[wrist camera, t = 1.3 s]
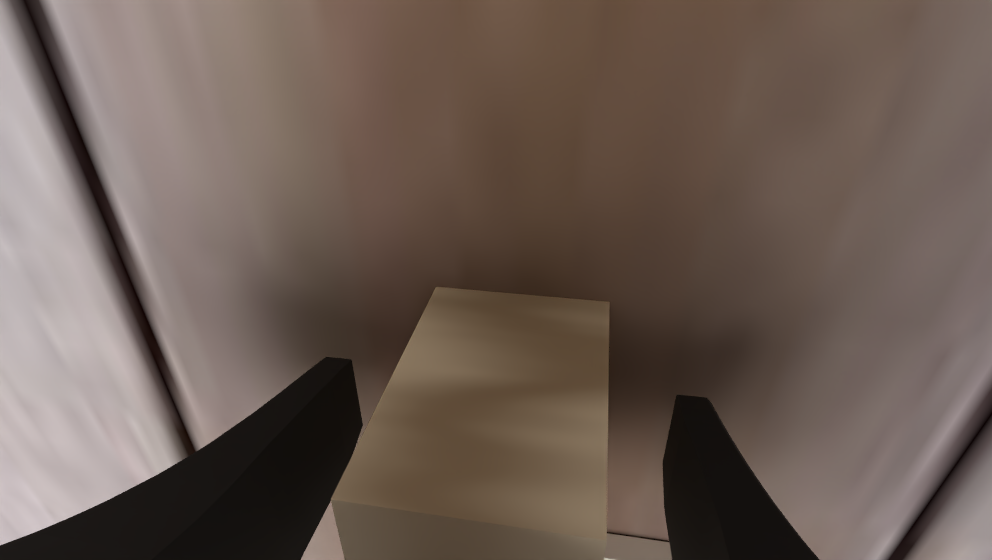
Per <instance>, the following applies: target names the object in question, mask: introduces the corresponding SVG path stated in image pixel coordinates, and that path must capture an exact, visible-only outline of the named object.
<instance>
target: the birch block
mask: <svg viewBox="0 0 992 560" xmlns="http://www.w3.org/2000/svg"><path fill="white" fill-rule="evenodd" d="M609 307H610V302H605V301H594V300H582V299H571V298H560V297H548V296H537V295H525V294H514V293H503V292H491V291H480V290H468V289H457V288H446V287H436V288H435V290H434V292H433V294H432V296H431V298H430V300H429V302H428V304H427V306H426V308H425V310H424V312H423V314H422V316H421V318H420V320H419V322H418V324H417V326H416V328H415V330H414V332H413V334H412V336H411V338H410V340H409V342H408V344H407V346H406V348H405V350H404V352H403V354H402V356H401V358H400V360H399V362H398V364H397V366H396V368H395V370H394V373H393V375H392V377H391V379H390V381H389V383H388V385H387V387H386V389H385V391H384V393H383V395H382V397H381V399H380V401H379V403H378V405H377V407H376V409H375V411H374V413H373V415H372V417H371V419H370V421H369V423H368V425H367V427H366V429H365V431H364V433H363V435H362V437H361V439H360V441H359V443H358V445H357V447H356V449H355V451H354V453H353V455H352V457H351V459H350V461H349V463H348V465H347V467H346V469H345V471H344V473H343V475H342V477H341V479H340V482H339V484H338V486H337V488H336V490H335V492H334V494H333V496H332V498H331V503H332V507H333V511H334V516H335V520H336V524H337V528H338V533H339V537H340V541H341V545H342V550H343V554H344V558H345V560H604V555H605V548H606V542H607V471H608V389H609Z"/></svg>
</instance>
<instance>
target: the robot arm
mask: <svg viewBox="0 0 992 560" xmlns="http://www.w3.org/2000/svg"><path fill="white" fill-rule="evenodd" d="M362 426H363V423H362V418H361V412H360V406H359V400H358V394H357V389H356V383H355V377H354V371H353V366H352V360H350V359H341V358H332V357H326V358H324V359H323V360H322V361H320V362H319V363H318V364H316V365H315V366H314V367H312V368H311V369H310V370H308V371H307V372H306V373H305V374H303V375H302V376H301V377H300V378H298V379H297V380H296V381H294V382H293V383H292V384H291V385H289V386H288V387H287V388H285V389H284V390H283V391H282V392H280V393H279V394H278V395H276V396H275V397H274V398H272V399H271V400H270V401H268V402H267V403H266V404H264V405H263V406H262V407H261V408H259V409H258V410H257V411H255V412H254V413H253V414H251V415H250V416H248V417H247V418H245V419H244V420H243V421H241V422H240V423H238V424H237V425H235V426H234V427H233V428H231V429H230V430H228V431H227V432H225V433H224V434H222V435H221V436H220V437H218V438H217V439H215V440H214V441H212V442H211V443H209V444H208V445H206V446H205V447H203V448H202V449H200V450H198V451H197V452H195V453H194V454H192V455H190V456H189V457H187V458H185V459H184V460H182V461H180V462H178V463H177V464H175V465H173V466H172V467H170V468H168V469H167V470H165V471H163V472H161V473H160V474H158V475H156V476H154V477H152V478H150V479H148V480H146V481H144V482H142V483H141V484H139V485H137V486H135V487H133V488H131V489H129V490H127V491H125V492H123V493H121V494H119V495H117V496H115V497H113V498H111V499H110V500H107V501H105V502H103V503H101V504H99V505H97V506H95V507H92V508H90V509H88V510H86V511H84V512H82V513H79V514H77V515H75V516H73V517H70V518H68V519H66V520H63V521H61V522H59V523H56V524H54V525H52V526H49V527H47V528H45V529H42V530H40V531H37V532H35V533H32V534H30V535H27V536H24V537H22V538H19V539H16V540H14V541H11V542H8V543H6V544H3V545H1V546H0V560H301V558H302V556H303V553H304V551H305V550H306V548H307V546H308V544H309V542H310V540H311V538H312V536H313V534H314V532H315V530H316V528H317V526H318V524H319V522H320V520H321V518H322V517H323V515H324V513H325V511H326V509H327V507H328V505H329V503H330V501H331V498H332V496H333V494H334V492H335V490H336V488H337V486H338V484H339V482H340V479H341V477H342V475H343V473H344V471H345V469H346V467H347V465H348V463H349V461H350V459H351V457H352V454H353V452H354V449H355V446H356V443H357V440H358V438H359V435H360V432H361V429H362ZM663 487H664V509H665V516H666V523H667V529H668V536H669V543H670V549H671V556H672V560H819V559H818V557H817V556H816V555H815V554H814V553H813V552H812V550H811V549H810V548H809V547H808V546H807V544H806V543H805V542H804V541H803V540H802V538H801V537H800V536H799V535H798V533H797V532H796V531H795V530H794V528H793V527H792V526H791V524H790V523H789V522H788V520H787V519H786V518H785V516H784V515H783V514H782V512H781V511H780V510H779V509H778V507H777V506H776V505H775V503H774V502H773V500H772V499H771V498H770V496H769V495H768V493H767V492H766V491H765V489H764V488H763V486H762V485H761V483H760V482H759V480H758V479H757V477H756V476H755V474H754V473H753V471H752V470H751V468H750V467H749V465H748V464H747V462H746V461H745V459H744V458H743V456H742V455H741V453H740V451H739V450H738V448H737V447H736V445H735V443H734V442H733V440H732V438H731V437H730V435H729V433H728V432H727V430H726V428H725V427H724V425H723V423H722V421H721V420H720V418H719V416H718V414H717V412H716V411H715V409H714V407H713V405H712V403H711V402H710V401H709V400H708V398H704V397H694V396H685V395H677V396H676V401H675V405H674V410H673V415H672V420H671V425H670V430H669V434H668V439H667V444H666V449H665V454H664V459H663Z"/></svg>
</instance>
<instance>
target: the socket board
mask: <svg viewBox="0 0 992 560" xmlns="http://www.w3.org/2000/svg"><path fill="white" fill-rule="evenodd" d="M604 560H672V556H671V549H670V543H669V542H664V541H657V540H650V539H643V538H636V537H629V536H623V535H616V534H609V533H607V542H606V548H605V555H604Z"/></svg>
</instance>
